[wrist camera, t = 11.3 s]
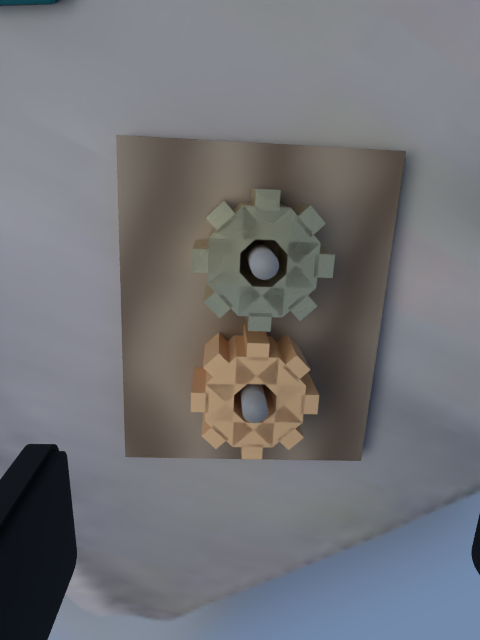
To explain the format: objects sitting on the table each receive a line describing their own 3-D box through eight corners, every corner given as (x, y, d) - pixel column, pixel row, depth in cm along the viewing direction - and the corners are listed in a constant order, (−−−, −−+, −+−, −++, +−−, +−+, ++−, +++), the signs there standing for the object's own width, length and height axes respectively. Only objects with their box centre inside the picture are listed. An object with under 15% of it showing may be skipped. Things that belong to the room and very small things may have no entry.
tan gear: (311, 325, 28) (324, 344, 24) (301, 428, 30) (312, 459, 27) (195, 322, 28) (191, 341, 24) (193, 426, 30) (190, 458, 26)
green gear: (325, 191, 25) (341, 193, 22) (313, 314, 27) (326, 333, 24) (196, 185, 25) (193, 185, 21) (194, 310, 27) (190, 328, 24)
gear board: (395, 153, 27) (444, 144, 21) (354, 448, 32) (383, 505, 27) (122, 137, 26) (94, 124, 20) (129, 444, 31) (109, 502, 26)
